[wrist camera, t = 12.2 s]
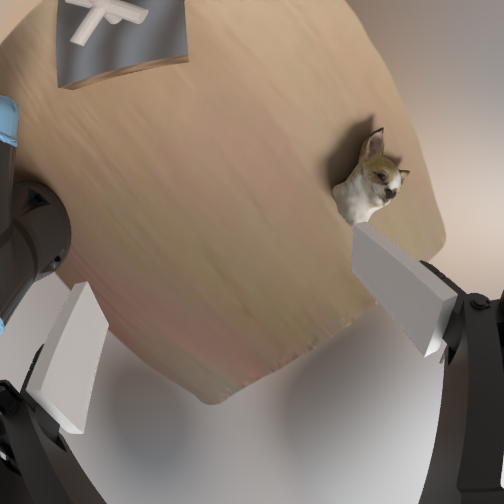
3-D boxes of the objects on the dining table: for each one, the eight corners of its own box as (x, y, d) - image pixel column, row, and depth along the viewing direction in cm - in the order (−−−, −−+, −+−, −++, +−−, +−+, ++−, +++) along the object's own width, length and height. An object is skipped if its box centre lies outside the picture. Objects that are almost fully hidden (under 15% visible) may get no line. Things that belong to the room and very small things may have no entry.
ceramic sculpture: (336, 204, 33) (406, 126, 31) (306, 188, 41) (369, 122, 39) (376, 254, 38) (435, 182, 36) (345, 232, 46) (400, 171, 43)
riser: (73, 89, 28) (58, 87, 23) (72, 6, 21) (58, -4, 17) (188, 62, 30) (187, 53, 25) (183, -22, 23) (182, -38, 19)
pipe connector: (62, 42, 21) (23, 24, 12) (108, -22, 18) (86, -58, 9) (125, 65, 24) (100, 46, 16) (174, -2, 22) (169, -41, 13)
